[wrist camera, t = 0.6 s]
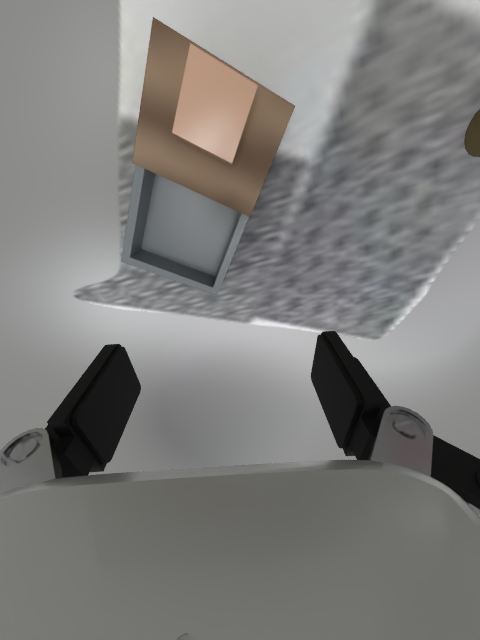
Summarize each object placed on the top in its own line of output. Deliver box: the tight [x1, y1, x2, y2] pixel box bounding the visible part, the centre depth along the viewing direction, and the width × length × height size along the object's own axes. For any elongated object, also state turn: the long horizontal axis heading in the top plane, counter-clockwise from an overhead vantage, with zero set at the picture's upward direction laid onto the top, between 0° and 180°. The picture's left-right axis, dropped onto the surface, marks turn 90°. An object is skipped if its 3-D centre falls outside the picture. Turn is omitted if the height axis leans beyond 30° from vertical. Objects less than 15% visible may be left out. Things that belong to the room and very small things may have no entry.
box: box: [121, 165, 249, 295], centre depth 32 cm, size 12×14×5 cm
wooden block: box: [132, 17, 295, 217], centre depth 26 cm, size 11×14×6 cm
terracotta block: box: [172, 43, 258, 165], centre depth 21 cm, size 6×6×3 cm
